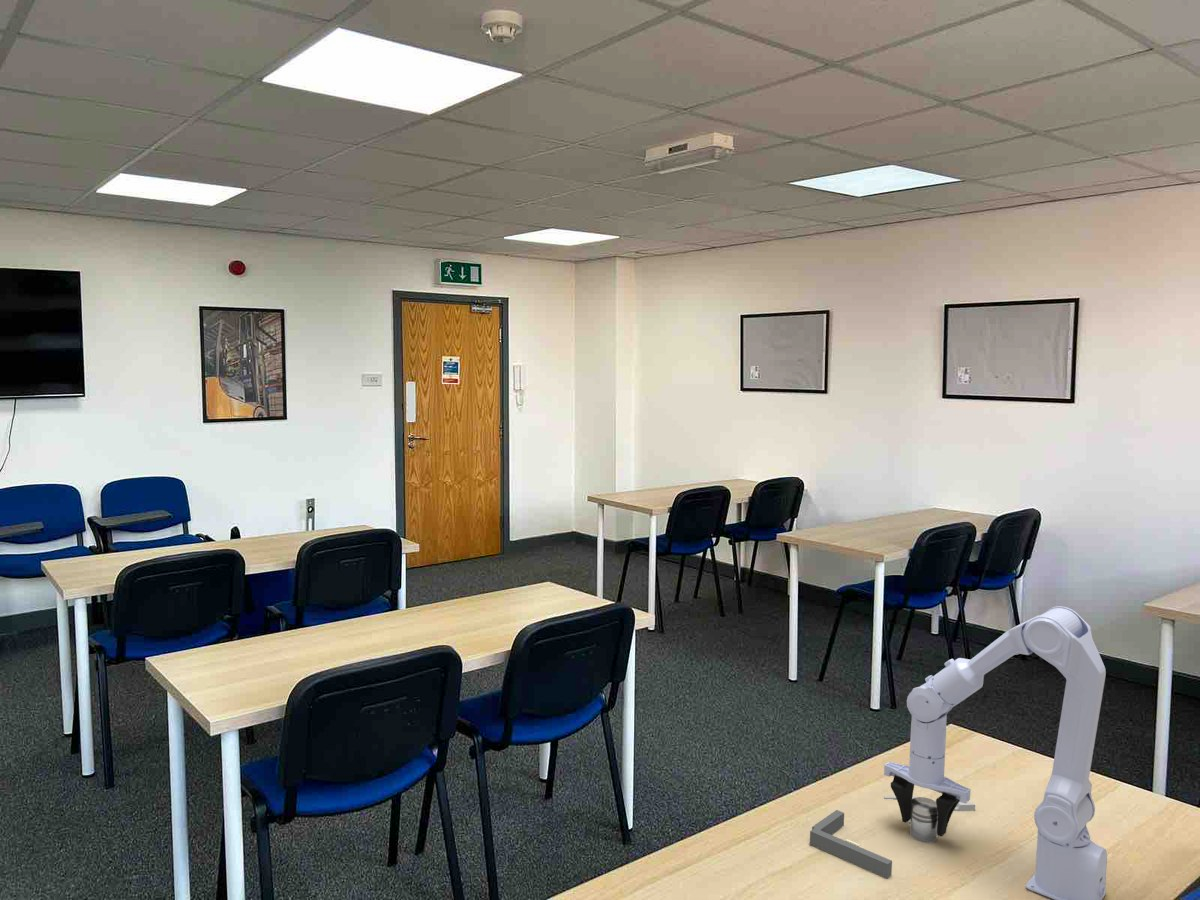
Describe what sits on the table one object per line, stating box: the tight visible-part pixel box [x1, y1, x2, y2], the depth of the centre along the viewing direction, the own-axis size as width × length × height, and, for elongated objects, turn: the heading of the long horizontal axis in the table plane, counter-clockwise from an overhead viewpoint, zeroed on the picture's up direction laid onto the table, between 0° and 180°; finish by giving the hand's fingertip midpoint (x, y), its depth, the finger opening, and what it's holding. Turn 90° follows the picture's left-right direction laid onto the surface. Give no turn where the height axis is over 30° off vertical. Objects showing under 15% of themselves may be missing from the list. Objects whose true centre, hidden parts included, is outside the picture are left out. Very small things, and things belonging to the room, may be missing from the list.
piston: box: [909, 796, 938, 844], centre depth 149 cm, size 5×5×6 cm
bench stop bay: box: [809, 809, 893, 879], centre depth 144 cm, size 14×10×2 cm
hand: (923, 827), depth 149 cm, fingers open, 6 cm apart
